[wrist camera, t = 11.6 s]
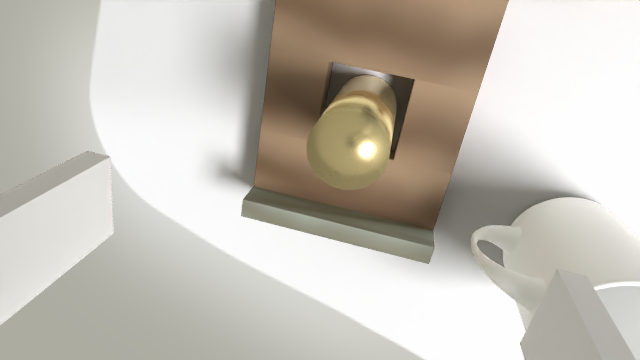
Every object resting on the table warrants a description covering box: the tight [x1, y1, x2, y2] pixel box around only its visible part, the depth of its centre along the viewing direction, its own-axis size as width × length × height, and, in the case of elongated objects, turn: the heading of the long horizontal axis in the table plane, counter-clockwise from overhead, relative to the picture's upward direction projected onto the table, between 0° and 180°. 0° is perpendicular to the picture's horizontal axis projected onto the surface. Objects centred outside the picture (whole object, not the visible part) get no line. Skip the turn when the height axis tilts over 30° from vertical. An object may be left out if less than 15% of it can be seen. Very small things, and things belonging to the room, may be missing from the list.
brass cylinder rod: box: [306, 75, 397, 190], centre depth 27 cm, size 4×4×10 cm
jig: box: [241, 0, 509, 264], centre depth 30 cm, size 18×14×4 cm
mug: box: [471, 197, 640, 360], centre depth 29 cm, size 9×12×11 cm
